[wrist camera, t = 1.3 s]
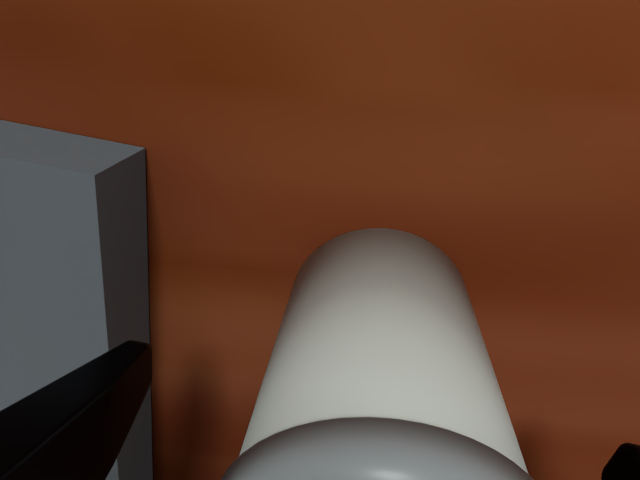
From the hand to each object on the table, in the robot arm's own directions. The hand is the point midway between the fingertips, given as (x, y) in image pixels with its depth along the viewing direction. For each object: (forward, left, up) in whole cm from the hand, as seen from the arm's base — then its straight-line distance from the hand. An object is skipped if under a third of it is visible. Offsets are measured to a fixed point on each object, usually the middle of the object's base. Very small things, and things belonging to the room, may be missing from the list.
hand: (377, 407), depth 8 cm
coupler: (0, 0, -3) cm, 3 cm away
